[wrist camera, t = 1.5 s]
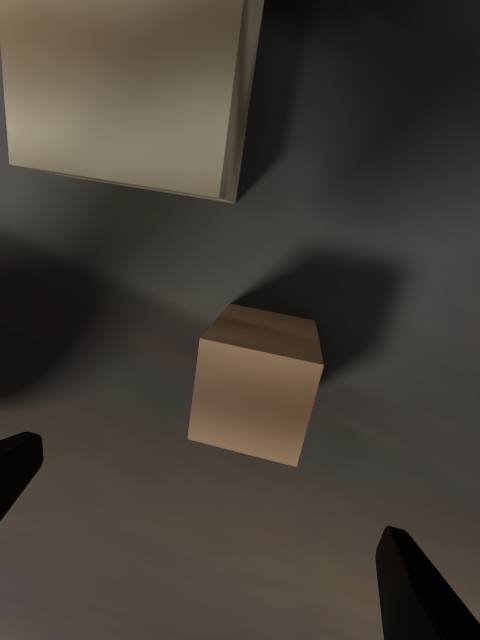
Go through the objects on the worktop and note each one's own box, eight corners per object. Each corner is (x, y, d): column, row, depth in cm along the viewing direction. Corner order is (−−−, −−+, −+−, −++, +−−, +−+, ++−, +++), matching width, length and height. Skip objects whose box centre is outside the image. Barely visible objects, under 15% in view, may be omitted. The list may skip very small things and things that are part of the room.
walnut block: (296, 395, 19) (296, 466, 13) (219, 377, 20) (187, 438, 14) (315, 320, 18) (323, 365, 12) (230, 303, 18) (199, 338, 12)
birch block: (236, 203, 17) (218, 197, 13) (69, 177, 18) (9, 164, 14) (270, -36, 14) (260, -136, 10) (65, -49, 15) (-14, -143, 11)
